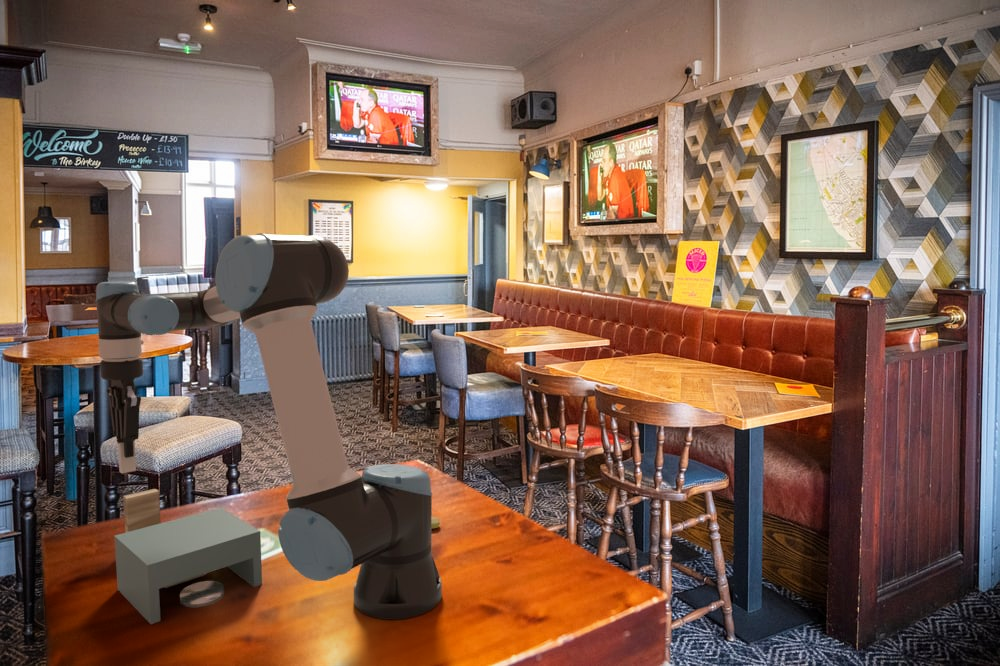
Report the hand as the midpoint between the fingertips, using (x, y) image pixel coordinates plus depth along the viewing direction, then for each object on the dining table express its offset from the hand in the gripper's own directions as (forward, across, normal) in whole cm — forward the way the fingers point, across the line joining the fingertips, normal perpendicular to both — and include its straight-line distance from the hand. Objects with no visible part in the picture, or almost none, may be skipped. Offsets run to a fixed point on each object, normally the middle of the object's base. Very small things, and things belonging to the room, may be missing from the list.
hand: (127, 471), depth 143 cm
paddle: (+14, -17, 0) cm, 22 cm away
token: (+14, -35, 0) cm, 38 cm away
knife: (+14, -32, -41) cm, 54 cm away
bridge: (+14, -30, 0) cm, 33 cm away
